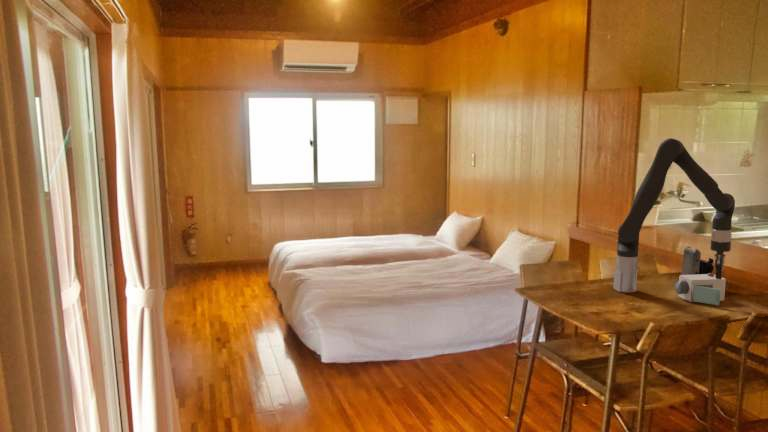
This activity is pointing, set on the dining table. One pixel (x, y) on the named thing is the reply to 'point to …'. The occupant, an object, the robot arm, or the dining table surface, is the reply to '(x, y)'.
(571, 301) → the dining table surface
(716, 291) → the side door
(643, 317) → the dining table surface
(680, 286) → the camera body
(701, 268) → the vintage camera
